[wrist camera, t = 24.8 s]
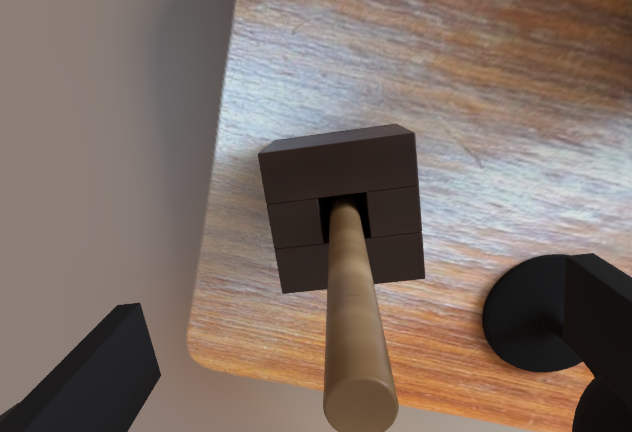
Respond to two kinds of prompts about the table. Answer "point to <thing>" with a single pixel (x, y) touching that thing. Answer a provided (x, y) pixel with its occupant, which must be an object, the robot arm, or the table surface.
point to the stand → (340, 179)
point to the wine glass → (546, 337)
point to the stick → (354, 332)
